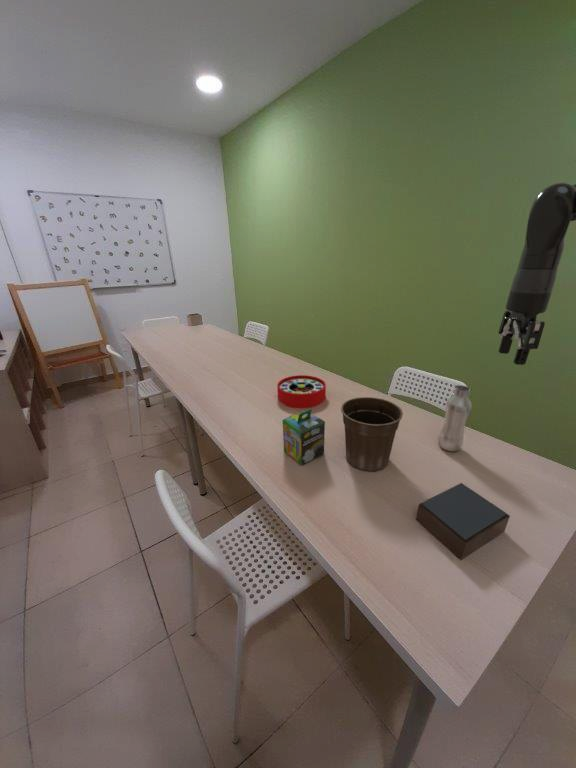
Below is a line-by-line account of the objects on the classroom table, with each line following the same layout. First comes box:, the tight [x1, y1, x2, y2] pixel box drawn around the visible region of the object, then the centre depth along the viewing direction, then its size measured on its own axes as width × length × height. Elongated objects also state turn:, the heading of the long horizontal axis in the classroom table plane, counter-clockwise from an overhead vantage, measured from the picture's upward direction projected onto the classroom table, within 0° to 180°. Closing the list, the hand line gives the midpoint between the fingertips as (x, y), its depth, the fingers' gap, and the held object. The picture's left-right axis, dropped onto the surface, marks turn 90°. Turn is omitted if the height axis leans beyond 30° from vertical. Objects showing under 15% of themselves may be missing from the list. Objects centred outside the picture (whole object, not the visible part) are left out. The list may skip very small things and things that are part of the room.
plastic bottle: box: [437, 384, 473, 452], centre depth 87 cm, size 6×7×20 cm
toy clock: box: [277, 374, 327, 409], centre depth 125 cm, size 20×6×20 cm
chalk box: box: [282, 408, 326, 466], centre depth 88 cm, size 9×9×15 cm
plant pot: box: [340, 396, 404, 472], centre depth 85 cm, size 16×16×16 cm
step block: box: [415, 482, 511, 561], centre depth 64 cm, size 14×11×5 cm
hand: (510, 358), depth 74 cm, fingers open, 8 cm apart
